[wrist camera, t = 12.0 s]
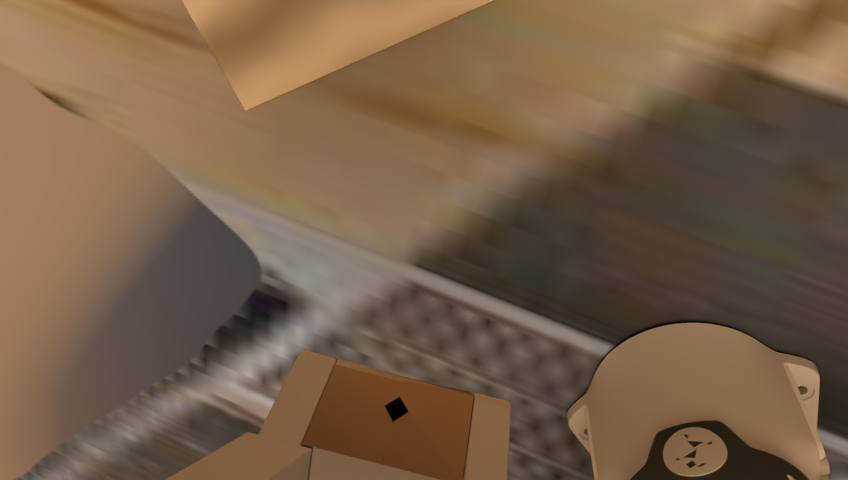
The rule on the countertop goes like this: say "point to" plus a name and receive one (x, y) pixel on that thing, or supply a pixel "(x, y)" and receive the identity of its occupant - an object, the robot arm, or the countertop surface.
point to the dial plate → (307, 36)
